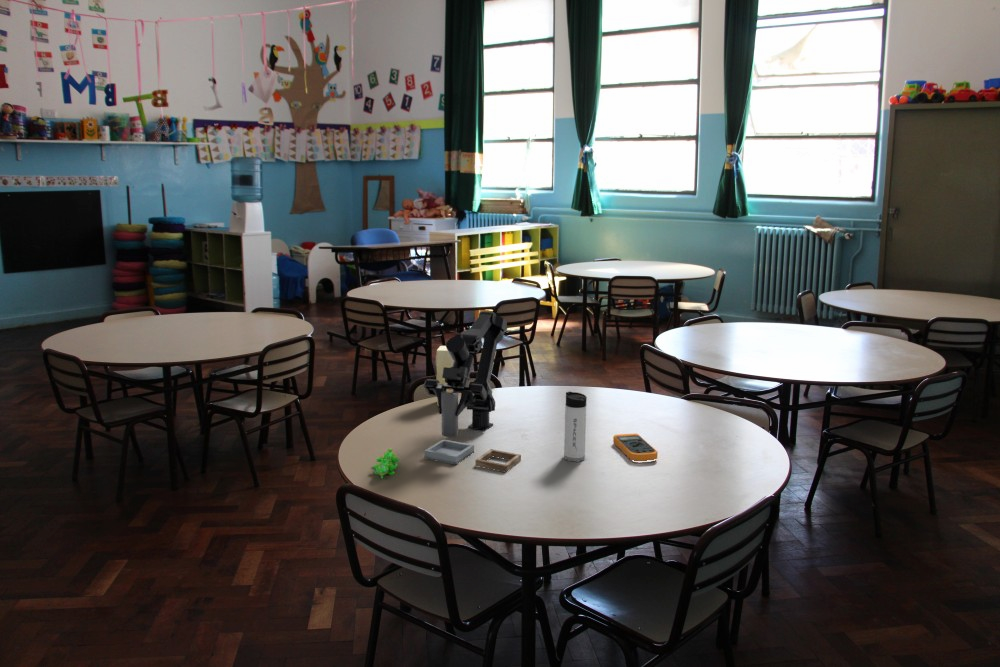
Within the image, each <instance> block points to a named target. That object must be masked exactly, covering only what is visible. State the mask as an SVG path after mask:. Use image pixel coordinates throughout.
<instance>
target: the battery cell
mask: <svg viewBox="0 0 1000 667" xmlns="http://www.w3.org/2000/svg"><path fill="white" fill-rule="evenodd" d="M458 404H459V393H458V392H457V391H454V390H453V389H451V388H449V389H446V391H442V392H441V414H440V415H441V436H442V437H446V438H453V437H458V435H459V415H458V416H456V410H457V407H458Z"/></svg>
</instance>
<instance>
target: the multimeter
mask: <svg viewBox="0 0 1000 667" xmlns="http://www.w3.org/2000/svg"><path fill="white" fill-rule="evenodd" d="M612 441H613V444H614V445H615V446H616V447H617V448H618V447H619V448H620V449H621V450H622V451H623V452H624V453H625V454H626V455H627V456H626V455H625V454H624V453H623V452H622V451H621V450H620V449H619V448H618V449H619V450H620V451H621V452H622V453H623V454H624V455H625V456H626V457H627V458H628V459H629V458H630V459H631V460H634V461H647V460H654V459H658V452H659V451H658V450H657V449H655V448H654V447H653V446H652V445H651V444H650V443H649V442H648V441H646V440H645V439H644V438H643V437H642V436H641V435H640V434H638V433H634V432H633V433H621V434H615V435H613V440H612ZM630 459H629V460H630ZM631 460H630V461H631Z"/></svg>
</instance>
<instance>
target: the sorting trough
mask: <svg viewBox="0 0 1000 667" xmlns="http://www.w3.org/2000/svg"><path fill="white" fill-rule="evenodd" d="M472 453H473V454H475V445H474V444H470V443H466V442H465V443H464V442H459V441H454V440H448V439H441V440H439V441H437V442H435V443H434V444H432V445H431V446H429V447H427V448H426V449H425V450H424V453H423V454H424V455H423V456H424V458H423V459H425V458H427V459H426V460H430V459H432V460H431V461H435V460H437V461H436V462H440V461H441V463H445V462H446V464H450V463H452V464H451V465H455V464H457V465H458V463H459V462H460V463H461V462H463V461H465V460H466V459H468V458H469V457H470V456H472V455H473V454H472ZM471 454H472V455H471ZM468 456H469V457H468ZM465 458H466V459H465ZM462 460H463V461H462ZM460 463H459V464H460Z"/></svg>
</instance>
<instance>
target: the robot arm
mask: <svg viewBox="0 0 1000 667" xmlns="http://www.w3.org/2000/svg"><path fill="white" fill-rule="evenodd" d="M507 327H508V323H507V321H506V319H505V318H504V317H502V316H500V315H497V314H496V313H495V312H493V311H486V310H485V311H484V310H483V311H480V312H479V313H478V317H477V318H476V319H475V320H474V322H473V323H472V325H471V327H470V328H468V329H466V330H463V331H462V332H460V333H455V335H454V336H453V337H451V338H449V339H448V340H447V341H446V343H445V346H446V348H447V350H448V352H449V354H450V356H451V358H452V359H453V360H454V363H453V366H452V367H451V368H447V367H444V368H443V375H442V378H445V382H446V383H447V385H443V384H440V382H439V381H438V380H436V379H431V378H428V379H426V380H424V383H423V387H424V389H425V391H426V392H427V394H428V395H429V396H434V397H435V396H436V397H437V398H438V414H439V415H441V392H442V391H446V389H449V388H451V389H453V390H454V391H457V392H458V394H460V399H459V400H458V407H457V410H456V416H458V417H459V416H460V414H461V413H462V412H463V411H464V410H465V409H466V410H470V411H471V412H472V415H471V424H469V425H467V428H470V429H475V430H479V431H486V430H488V429H490V428H491V427H493V426H494V423H492V422H490V413H491V412H495V410H496V400H495V398H494V396H493V390H492V387H491V385H490V381H491V376H492V370H493V367H494V361H495V356H496V352H497V346H498V344H499V343H500V342H501V340H503V339H504V336H505V334H506V333H505V332H507V329H508V328H507ZM480 350H481V353H480V358H479V362H478V365H477V371H476V377H475V379H474V380H472V381H470V380H471V377H470V374H471V370H472V367H473V365H475V360H474V356H473V354H474V353H475V354H477V353H479V352H480ZM472 353H473V354H472ZM468 381H470V382H469V384H468ZM467 384H468V387H467ZM437 398H436V399H437Z"/></svg>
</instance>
